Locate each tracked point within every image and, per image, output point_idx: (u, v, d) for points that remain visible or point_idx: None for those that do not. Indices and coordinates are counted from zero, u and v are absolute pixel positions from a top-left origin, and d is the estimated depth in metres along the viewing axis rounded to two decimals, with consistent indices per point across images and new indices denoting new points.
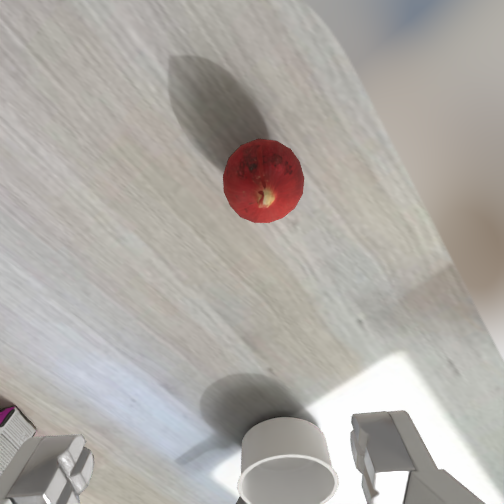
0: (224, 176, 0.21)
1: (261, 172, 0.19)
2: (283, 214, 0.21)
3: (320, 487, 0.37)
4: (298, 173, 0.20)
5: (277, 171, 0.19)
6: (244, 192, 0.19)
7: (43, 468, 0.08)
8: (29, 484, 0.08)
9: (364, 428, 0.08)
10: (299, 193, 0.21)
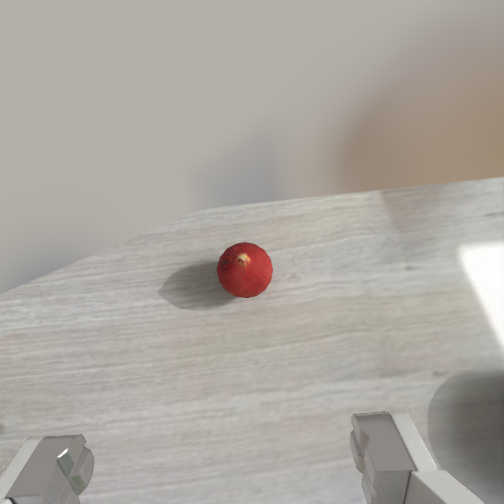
0: (225, 287, 0.31)
1: (230, 257, 0.30)
2: (266, 262, 0.31)
3: None
4: (247, 243, 0.32)
5: (236, 249, 0.30)
6: (235, 273, 0.29)
7: (43, 468, 0.08)
8: (29, 484, 0.08)
9: (364, 428, 0.08)
10: (259, 248, 0.31)
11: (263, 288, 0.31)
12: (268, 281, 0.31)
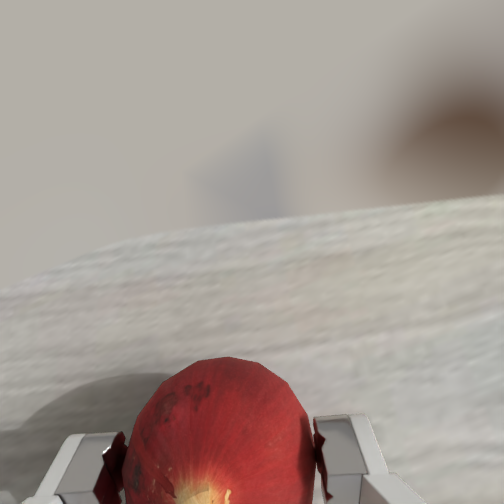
0: None
1: (150, 468, 0.07)
2: (297, 465, 0.08)
3: None
4: (229, 373, 0.09)
5: (178, 423, 0.08)
6: None
7: (89, 465, 0.08)
8: (77, 481, 0.08)
9: (322, 431, 0.08)
10: (270, 395, 0.09)
11: None
12: None
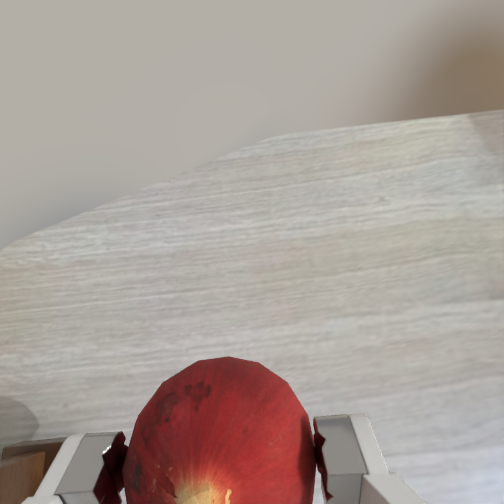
0: None
1: (151, 468, 0.07)
2: (298, 465, 0.08)
3: None
4: (230, 373, 0.09)
5: (179, 423, 0.08)
6: None
7: (89, 465, 0.08)
8: (76, 481, 0.08)
9: (322, 431, 0.08)
10: (271, 395, 0.09)
11: None
12: None
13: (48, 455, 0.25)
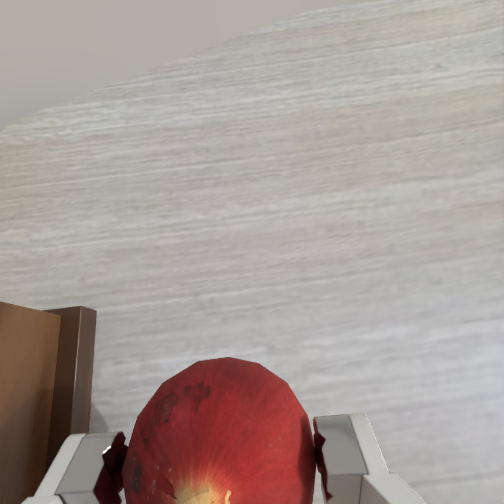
0: None
1: (151, 469, 0.07)
2: (297, 466, 0.08)
3: None
4: (229, 374, 0.09)
5: (178, 424, 0.08)
6: None
7: (89, 465, 0.08)
8: (77, 481, 0.08)
9: (322, 431, 0.08)
10: (270, 395, 0.09)
11: None
12: None
13: (64, 320, 0.21)
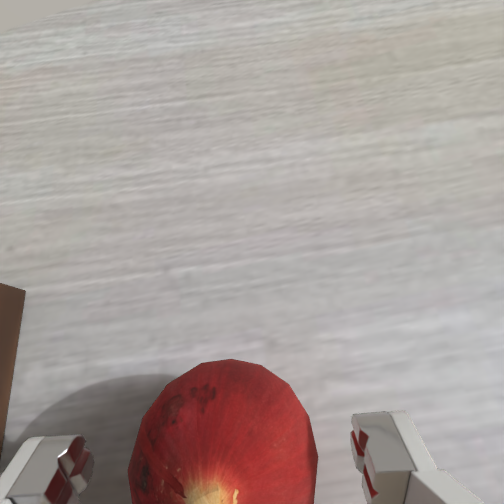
0: None
1: (159, 469, 0.07)
2: (301, 466, 0.08)
3: None
4: (234, 376, 0.09)
5: (186, 425, 0.08)
6: None
7: (43, 468, 0.08)
8: (29, 484, 0.08)
9: (364, 428, 0.08)
10: (274, 397, 0.09)
11: None
12: None
13: None
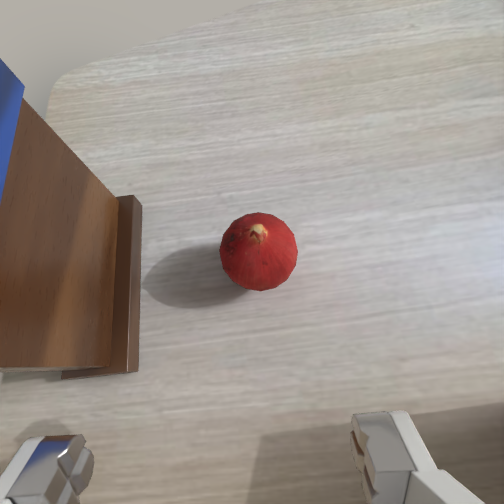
0: (231, 275, 0.22)
1: (238, 230, 0.21)
2: (289, 238, 0.21)
3: None
4: (263, 213, 0.23)
5: (247, 219, 0.21)
6: (246, 253, 0.20)
7: (43, 468, 0.08)
8: (29, 484, 0.08)
9: (364, 428, 0.08)
10: (279, 219, 0.22)
11: (285, 276, 0.22)
12: (292, 267, 0.22)
13: (121, 204, 0.27)
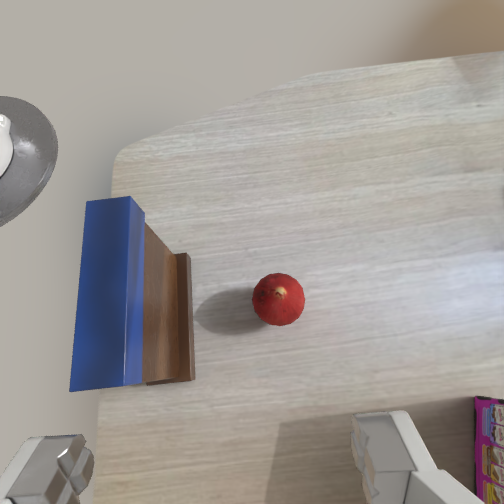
0: (261, 316, 0.33)
1: (267, 289, 0.32)
2: (300, 293, 0.33)
3: None
4: (281, 274, 0.34)
5: (272, 281, 0.32)
6: (272, 304, 0.31)
7: (43, 468, 0.08)
8: (29, 484, 0.08)
9: (364, 428, 0.08)
10: (292, 279, 0.33)
11: (297, 317, 0.33)
12: (301, 310, 0.33)
13: (178, 259, 0.38)
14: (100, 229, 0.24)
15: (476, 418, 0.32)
